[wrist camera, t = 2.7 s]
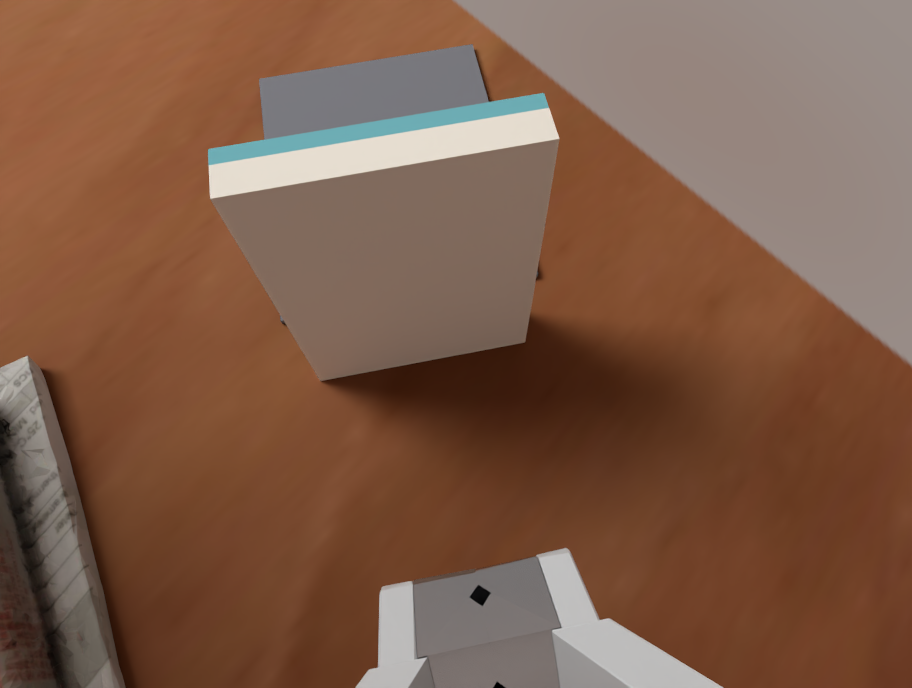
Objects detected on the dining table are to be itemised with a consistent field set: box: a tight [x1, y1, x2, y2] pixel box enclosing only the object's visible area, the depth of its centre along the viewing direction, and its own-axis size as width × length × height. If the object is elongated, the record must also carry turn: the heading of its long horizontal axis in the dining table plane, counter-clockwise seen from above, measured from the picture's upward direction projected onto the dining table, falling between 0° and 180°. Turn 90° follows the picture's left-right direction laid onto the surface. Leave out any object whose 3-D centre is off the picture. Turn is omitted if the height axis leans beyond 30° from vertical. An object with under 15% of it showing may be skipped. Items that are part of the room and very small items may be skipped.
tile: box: [208, 93, 559, 381], centre depth 25 cm, size 2×10×14 cm, turn 101°
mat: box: [259, 44, 538, 324], centre depth 36 cm, size 16×13×1 cm
